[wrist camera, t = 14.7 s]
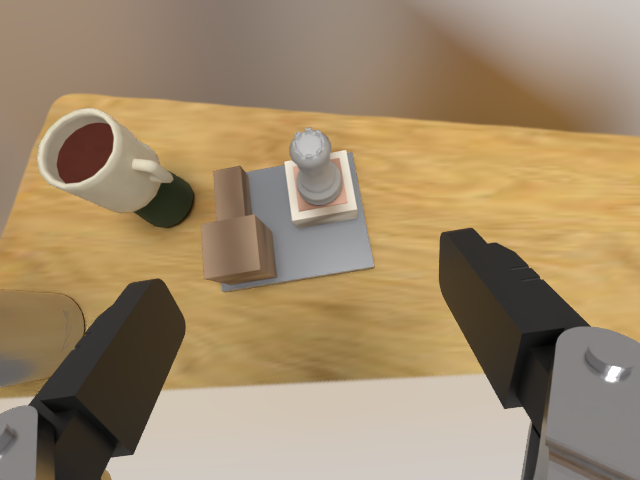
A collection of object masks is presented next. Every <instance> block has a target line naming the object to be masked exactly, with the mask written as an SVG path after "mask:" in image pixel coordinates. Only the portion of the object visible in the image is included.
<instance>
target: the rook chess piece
mask: <svg viewBox="0 0 640 480" xmlns="http://www.w3.org/2000/svg"><path fill="white" fill-rule="evenodd" d="M294 136H295V138H294V139H293V140H292V143H291V145H290V157H291V159H292V161H293V162H294V163H295V164H297V166H298V168H299V172H298V174H297V177H296V182H297V189H298V192H299V194H300V196H301V197H302V198H303V199H304V200H305V201H306V202H307V203H311V204H314V205H325V204H327V203H329V202H332V201H333V200H334V199H335V198H336V197H337V196H338V195H339V194H340V191H341V189H342V177H341V173H340V171H339V169H338V167H337V166H336V165H335V164H334V163H332V162H331V161H330V153H331V143H330V141H329V139H328V137H327V136H326V135H324V134H323V133H322V132H321V131H319V130H318V129H317V130H316V131H315V130H312V129H311V127H309V128H305V131H304V132H302V133H300V132H299V131H298V132H297V133H296V134H295V135H294Z"/></svg>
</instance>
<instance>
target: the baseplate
mask: <svg viewBox="0 0 640 480" xmlns="http://www.w3.org/2000/svg"><path fill="white" fill-rule="evenodd" d="M347 158H348V163H349V168H350V174H351V179H352V184H353V190H354V195H355V200H356V205H357V219H352V220H346V221H340V222H334V223H329V224H323V225H317V226H312V227H306V228H300V229H297V227H296V226H295V224H294V223H293V221H292V216H291V208H290V201H289V193H288V185H287V178H286V170H285V165H282V166H276V167H271V168H266V169H261V170H255V171H250V172H245V173H246V174H247V175H248V179H249V189H250V199H251V209H252V215H254V214H255V215H256V216H257V217H258V218H259V219H260V220H261V221H262V222H263V223H264V224H265V225H266V226H267V227H268V228H269V229H270V230H271V231H272V236H273V245H274V253H275V262H276V271H277V278H271V279H265V280H259V281H253V282H247V283H241V284H235V285H228V284H224V283H222V291H223V292H231V291H237V290H243V289H249V288H255V287H261V286H268V285H274V284H280V283H286V282H292V281H298V280H304V279H310V278H317V277H323V276H329V275H335V274H341V273H347V272H353V271H360V270H366V269H372V268H374V263H373V258H372V253H371V248H370V243H369V237H368V232H367V227H366V222H365V217H364V211H363V206H362V201H361V196H360V191H359V186H358V180H357V175H356V170H355V165H354V160H353V154H352V152H350V153H347Z"/></svg>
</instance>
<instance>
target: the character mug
mask: <svg viewBox="0 0 640 480" xmlns="http://www.w3.org/2000/svg"><path fill="white" fill-rule="evenodd" d="M37 163H38V167H39V172H40V174H41V175H42V176H43V177H44V179H45V180H46V181H47V182H48V183H49V184H50V185H52V186H54V187H56V188H59V189H61V190H64V191H66V192H68V193H71V194H73V195H75V196H78V197H80V198H82V199H85V200H87V201H90V202H92V203H94V204H97V205H99V206H101V207H104V208H106V209H109V210H112V211H114V212H118V213H128V212H135V213H136V214H138V215H139V216H140V217H142V218H143V219H145V220H146V221H148V222H149V223H151V224H153V225H154V226H159V227H166V228H167V227H169V226H172V225H175V224H177V223H179V222H180V221H181V220H182V219H183V218H184V217H185V216H186V215H187V213H188V211H189V209H190V207H191V205H192V199H193V192H192V190H191V187H190V185H189V184H188V183H187V182H185V181H184V180H183V179H181V178H180V177H178V176H176V175H175V174H173V173H171V172H169V171H167V170H165V169H164V168H163V167H162V166H161V165H160V162H159V159H158V156H157V154H156V153H155V152H154V151H153V150H152V149H151V148H150V147H149V146H148V145H146V144H144V143H142V142H140V141H139V140H138V139H137V138H136V137H135V136H134V135H133V134H132V133H131V132H130V131H129V130H128V129H127V128H126V127H124V126H122V125H121V124H119V123H118V122H117V121H116V120H115V119H113V118H112V117H111V116H109V115H108V114H107V113H105V112H102V111H100V110H98V109H93V108H84V109H80V110H75V111H73V112H71V113H69V114H67V115H65V116H63V117H61V118H60V119H59V120H58V121H57V122H56V123H55V124H53V125H52V126H51V127H50V128H49V129H48V131H47V132H46V134H45V136H44V137H43V139H42V141H41V142H40V144H39V149H38V155H37Z"/></svg>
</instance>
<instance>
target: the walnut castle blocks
mask: <svg viewBox="0 0 640 480" xmlns="http://www.w3.org/2000/svg"><path fill="white" fill-rule="evenodd" d="M213 176H214V190H215V204H216V219H217V221H215V222H210V223H204V224H201V233H202V250H203V268H204V279H207V280H211V281H215V282H220V283H224V284H228V285H235V284H241V283H247V282H253V281H259V280H265V279H271V278H277V271H276V262H275V253H274V245H273V236H272V231H271V230H270V229H269V228H268V227H267V226H266V225H265V224H264V223H263V222H262V221H261V220H260V219H259V218H258V217H257V216H256V215H255V214H254V215H252V209H251V199H250V189H249V179H248V175H247V174H246V173H245V171H244V170H243V169H242V167H241V166H237V167H232V168H227V169H221V170H216V171H213Z"/></svg>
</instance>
